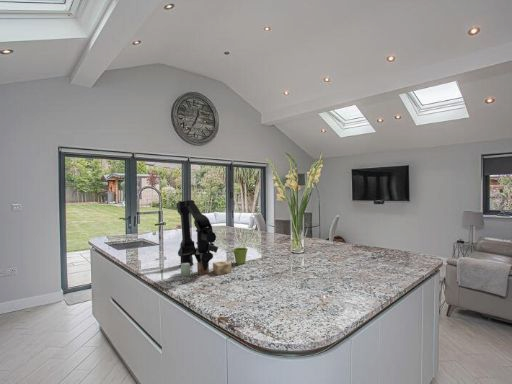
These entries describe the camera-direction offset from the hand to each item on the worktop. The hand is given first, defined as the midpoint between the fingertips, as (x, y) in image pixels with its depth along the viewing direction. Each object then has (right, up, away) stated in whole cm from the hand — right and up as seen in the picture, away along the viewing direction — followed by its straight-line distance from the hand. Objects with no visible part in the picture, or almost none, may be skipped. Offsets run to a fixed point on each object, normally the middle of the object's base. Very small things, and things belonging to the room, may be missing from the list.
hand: (203, 268), depth 164 cm
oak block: (+10, -3, +2) cm, 11 cm away
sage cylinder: (-9, -3, -2) cm, 10 cm away
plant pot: (+20, -2, +21) cm, 29 cm away
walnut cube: (0, -3, 0) cm, 3 cm away
